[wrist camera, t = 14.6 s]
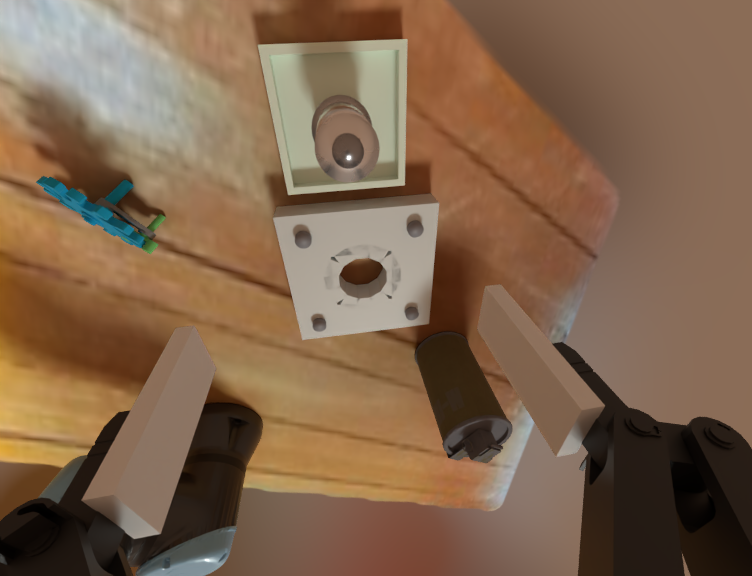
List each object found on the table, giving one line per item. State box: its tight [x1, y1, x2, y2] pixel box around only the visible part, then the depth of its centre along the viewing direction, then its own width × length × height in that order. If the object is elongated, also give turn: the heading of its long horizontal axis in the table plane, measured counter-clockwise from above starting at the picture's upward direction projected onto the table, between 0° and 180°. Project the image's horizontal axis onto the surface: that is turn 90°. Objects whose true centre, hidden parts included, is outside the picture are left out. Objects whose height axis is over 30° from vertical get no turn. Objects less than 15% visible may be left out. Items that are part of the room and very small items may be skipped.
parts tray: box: [258, 39, 407, 195], centre depth 34 cm, size 14×14×2 cm
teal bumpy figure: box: [36, 176, 165, 254], centre depth 35 cm, size 11×6×10 cm
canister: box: [415, 332, 512, 463], centre depth 52 cm, size 11×10×20 cm
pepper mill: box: [311, 95, 380, 182], centre depth 29 cm, size 6×6×14 cm
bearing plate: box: [273, 193, 439, 340], centre depth 45 cm, size 20×20×4 cm
